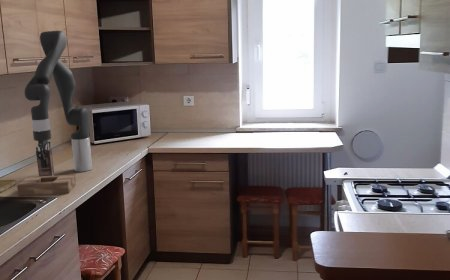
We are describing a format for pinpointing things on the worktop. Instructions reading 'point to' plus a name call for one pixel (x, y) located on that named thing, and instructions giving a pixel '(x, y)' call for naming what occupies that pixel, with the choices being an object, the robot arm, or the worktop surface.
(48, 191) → the slot beam
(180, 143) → the worktop surface
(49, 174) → the box
